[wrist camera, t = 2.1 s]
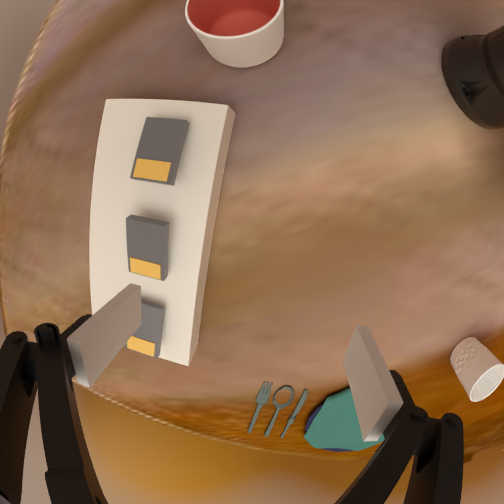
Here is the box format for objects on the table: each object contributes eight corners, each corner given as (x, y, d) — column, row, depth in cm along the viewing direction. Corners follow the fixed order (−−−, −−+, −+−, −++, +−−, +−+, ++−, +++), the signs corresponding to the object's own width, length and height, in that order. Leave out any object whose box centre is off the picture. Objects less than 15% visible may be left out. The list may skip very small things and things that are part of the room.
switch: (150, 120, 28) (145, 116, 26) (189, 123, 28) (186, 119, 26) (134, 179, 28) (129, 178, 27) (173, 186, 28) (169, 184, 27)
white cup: (444, 373, 40) (465, 408, 30) (449, 341, 38) (475, 375, 28) (476, 359, 39) (499, 390, 29) (482, 327, 37) (510, 357, 27)
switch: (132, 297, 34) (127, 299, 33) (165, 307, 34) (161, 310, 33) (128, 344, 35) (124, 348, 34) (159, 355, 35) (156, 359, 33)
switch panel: (123, 105, 33) (100, 98, 27) (235, 113, 32) (226, 103, 27) (108, 318, 43) (90, 335, 37) (197, 346, 42) (186, 369, 37)
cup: (192, 51, 30) (165, 19, 20) (237, 2, 27) (223, -38, 17) (254, 84, 31) (243, 54, 21) (298, 32, 28) (302, -8, 18)
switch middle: (130, 214, 30) (125, 218, 28) (169, 222, 29) (164, 227, 28) (133, 266, 33) (128, 272, 32) (167, 275, 33) (163, 281, 32)
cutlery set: (374, 446, 47) (376, 454, 45) (243, 431, 49) (241, 439, 46) (422, 384, 41) (425, 392, 39) (268, 361, 43) (267, 370, 41)
